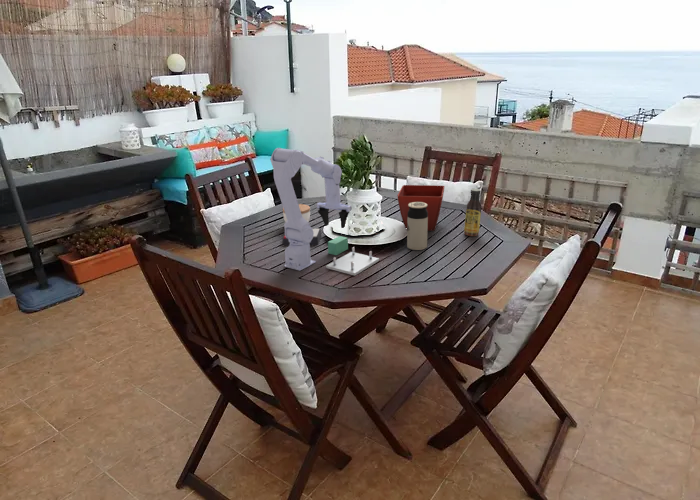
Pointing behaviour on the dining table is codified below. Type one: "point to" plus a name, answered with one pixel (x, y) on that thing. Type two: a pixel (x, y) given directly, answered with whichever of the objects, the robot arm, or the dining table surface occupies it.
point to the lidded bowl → (304, 211)
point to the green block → (337, 245)
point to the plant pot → (421, 194)
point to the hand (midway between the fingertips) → (334, 226)
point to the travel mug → (417, 226)
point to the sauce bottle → (473, 214)
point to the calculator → (313, 242)
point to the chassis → (352, 262)
